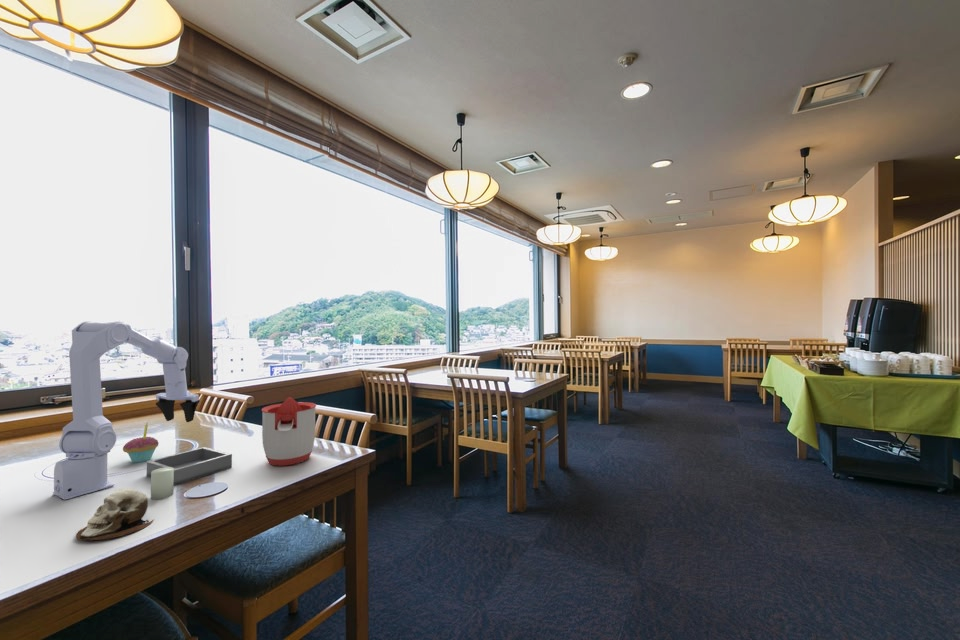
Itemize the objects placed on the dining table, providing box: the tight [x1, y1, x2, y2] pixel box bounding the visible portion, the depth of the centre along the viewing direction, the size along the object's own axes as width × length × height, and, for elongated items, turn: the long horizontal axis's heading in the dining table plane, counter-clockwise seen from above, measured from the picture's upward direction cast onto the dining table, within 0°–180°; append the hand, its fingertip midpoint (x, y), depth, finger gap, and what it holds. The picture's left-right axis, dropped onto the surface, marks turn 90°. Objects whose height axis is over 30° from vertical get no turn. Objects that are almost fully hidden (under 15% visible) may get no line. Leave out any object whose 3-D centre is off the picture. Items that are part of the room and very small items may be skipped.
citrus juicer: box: [261, 396, 317, 467], centre depth 122 cm, size 16×17×20 cm
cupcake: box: [122, 422, 159, 463], centre depth 124 cm, size 9×8×12 cm
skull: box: [75, 488, 155, 541], centre depth 82 cm, size 12×10×10 cm
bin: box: [146, 446, 233, 486], centre depth 114 cm, size 15×15×4 cm
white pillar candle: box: [150, 467, 174, 501], centre depth 98 cm, size 4×4×6 cm
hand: (180, 420), depth 132 cm, fingers open, 7 cm apart
